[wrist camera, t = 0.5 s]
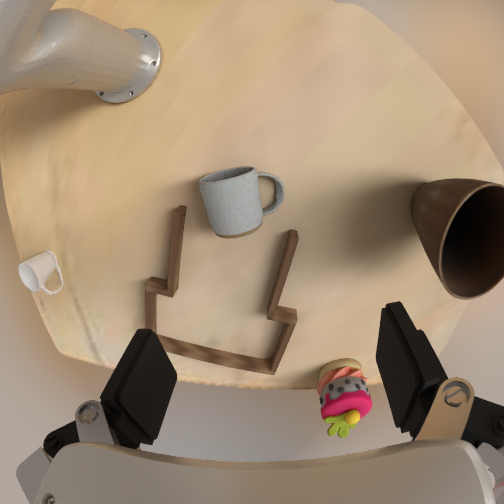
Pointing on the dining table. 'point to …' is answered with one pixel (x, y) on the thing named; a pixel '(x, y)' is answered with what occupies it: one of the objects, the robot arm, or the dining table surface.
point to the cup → (39, 271)
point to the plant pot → (462, 233)
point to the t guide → (214, 355)
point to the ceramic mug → (236, 200)
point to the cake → (343, 395)
